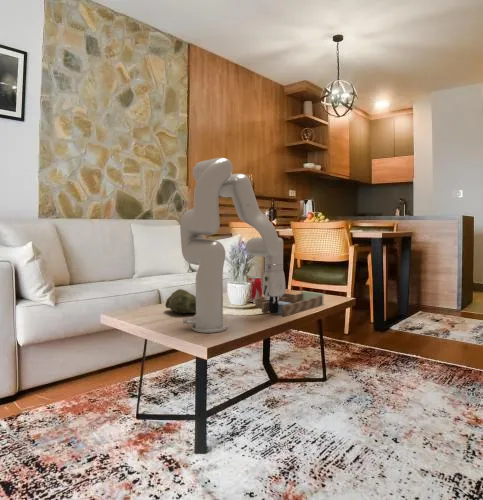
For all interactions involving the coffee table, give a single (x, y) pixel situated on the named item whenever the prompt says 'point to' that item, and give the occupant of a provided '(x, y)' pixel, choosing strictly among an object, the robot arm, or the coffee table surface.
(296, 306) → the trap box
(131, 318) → the coffee table surface
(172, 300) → the decorative rock
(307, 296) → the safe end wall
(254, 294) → the soda can
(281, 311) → the block
